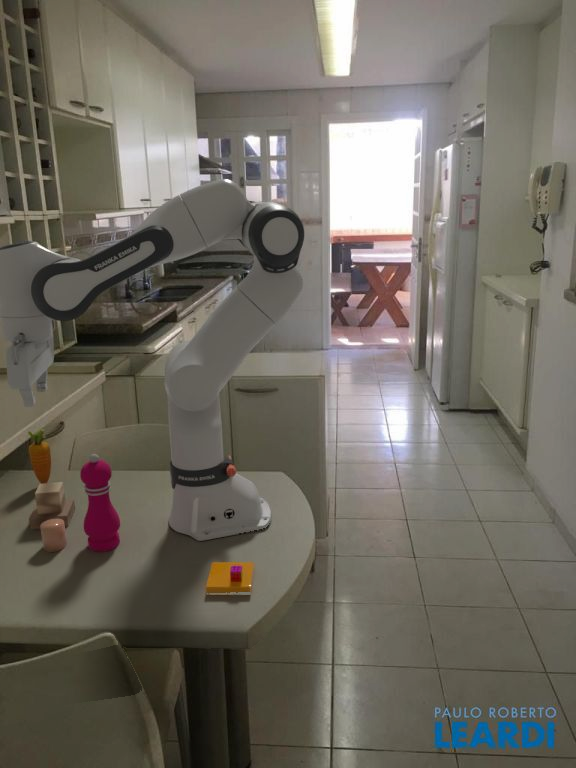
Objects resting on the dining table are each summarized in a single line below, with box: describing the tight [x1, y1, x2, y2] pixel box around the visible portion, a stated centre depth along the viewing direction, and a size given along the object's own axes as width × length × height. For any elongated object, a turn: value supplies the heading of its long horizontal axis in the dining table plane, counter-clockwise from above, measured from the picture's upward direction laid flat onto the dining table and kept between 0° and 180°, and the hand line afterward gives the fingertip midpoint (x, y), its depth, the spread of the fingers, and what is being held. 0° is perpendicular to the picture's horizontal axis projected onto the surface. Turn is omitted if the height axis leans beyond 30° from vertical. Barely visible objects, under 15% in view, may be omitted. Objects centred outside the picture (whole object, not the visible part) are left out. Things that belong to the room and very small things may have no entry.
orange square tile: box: [205, 561, 255, 595], centre depth 116 cm, size 8×8×4 cm
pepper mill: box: [79, 453, 121, 553], centre depth 127 cm, size 7×7×20 cm
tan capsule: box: [40, 519, 68, 553], centre depth 129 cm, size 5×5×5 cm
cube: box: [34, 481, 66, 514], centre depth 139 cm, size 5×5×5 cm
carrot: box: [27, 428, 52, 484], centre depth 155 cm, size 5×5×15 cm
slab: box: [28, 498, 76, 530], centre depth 140 cm, size 8×8×3 cm
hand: (36, 398), depth 123 cm, fingers open, 8 cm apart
